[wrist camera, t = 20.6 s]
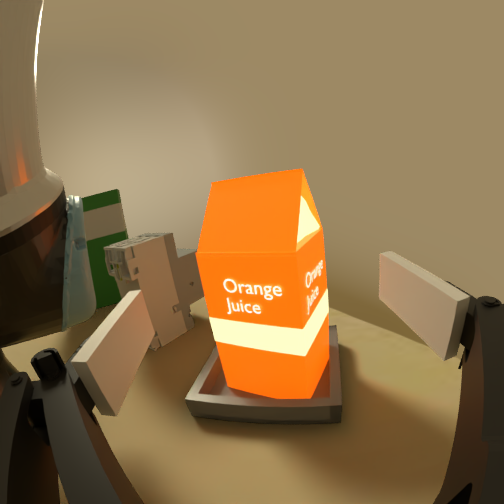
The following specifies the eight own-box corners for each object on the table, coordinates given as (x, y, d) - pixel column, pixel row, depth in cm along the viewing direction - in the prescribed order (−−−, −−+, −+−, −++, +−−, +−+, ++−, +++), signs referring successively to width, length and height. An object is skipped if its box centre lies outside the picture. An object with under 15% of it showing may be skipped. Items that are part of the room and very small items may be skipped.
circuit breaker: (219, 309, 46) (202, 222, 42) (154, 351, 35) (123, 249, 31) (191, 303, 51) (173, 224, 47) (129, 337, 40) (102, 247, 36)
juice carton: (307, 405, 22) (285, 169, 17) (226, 387, 26) (181, 187, 21) (330, 356, 28) (316, 167, 23) (260, 347, 33) (232, 179, 28)
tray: (191, 415, 23) (184, 399, 22) (228, 345, 35) (224, 329, 34) (340, 422, 19) (342, 404, 19) (336, 342, 32) (336, 325, 31)
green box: (72, 314, 51) (43, 209, 45) (77, 303, 57) (52, 208, 51) (141, 296, 57) (116, 189, 51) (140, 287, 64) (119, 190, 58)
